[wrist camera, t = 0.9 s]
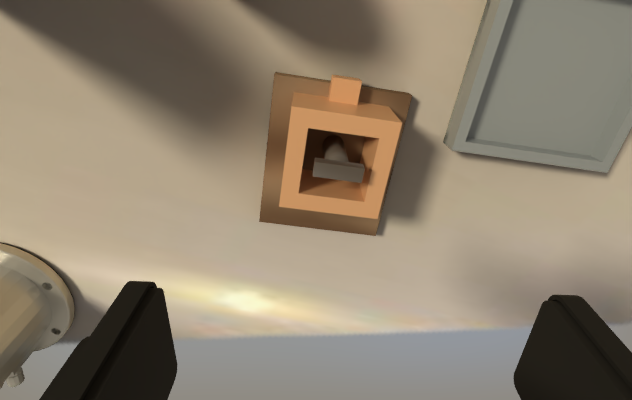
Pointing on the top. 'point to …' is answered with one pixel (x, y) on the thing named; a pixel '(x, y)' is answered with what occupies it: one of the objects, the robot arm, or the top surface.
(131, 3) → the top surface
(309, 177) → the ring
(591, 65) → the tray
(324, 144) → the brown board with hook
